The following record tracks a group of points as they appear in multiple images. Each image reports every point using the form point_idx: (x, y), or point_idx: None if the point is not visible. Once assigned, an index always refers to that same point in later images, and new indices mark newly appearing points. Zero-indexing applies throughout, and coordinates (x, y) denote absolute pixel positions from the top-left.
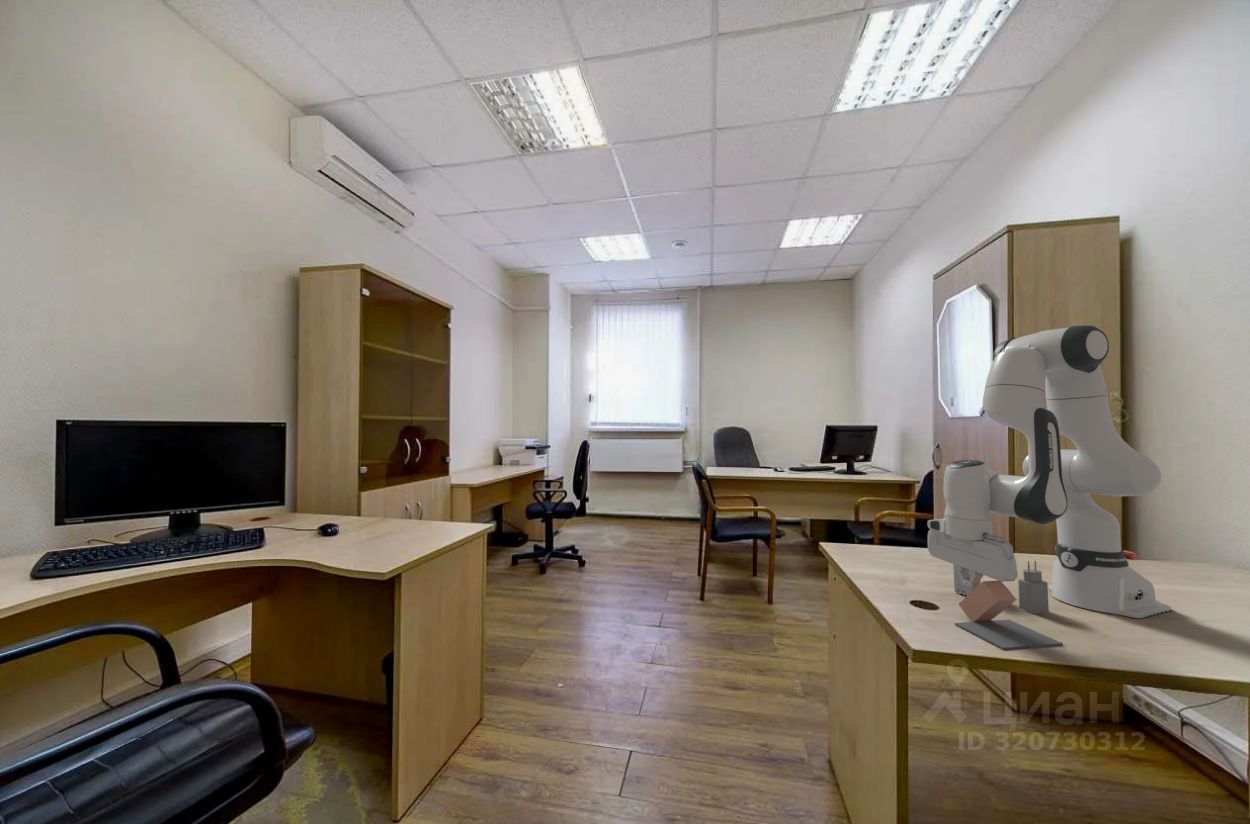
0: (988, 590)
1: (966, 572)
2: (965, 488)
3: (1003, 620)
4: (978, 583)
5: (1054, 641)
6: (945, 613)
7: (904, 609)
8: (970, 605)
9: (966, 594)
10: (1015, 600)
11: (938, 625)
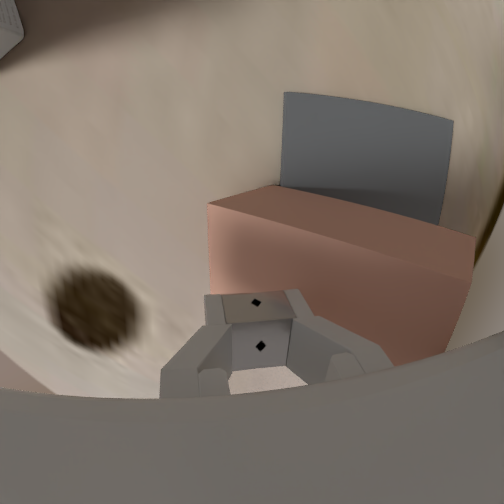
0: None
1: (212, 364)
2: None
3: (290, 127)
4: (310, 309)
5: (443, 131)
6: (174, 295)
7: (142, 390)
8: None
9: (4, 52)
10: (466, 235)
11: (263, 372)
